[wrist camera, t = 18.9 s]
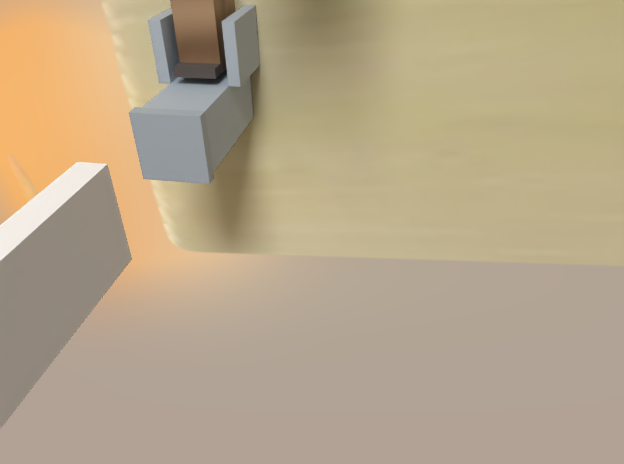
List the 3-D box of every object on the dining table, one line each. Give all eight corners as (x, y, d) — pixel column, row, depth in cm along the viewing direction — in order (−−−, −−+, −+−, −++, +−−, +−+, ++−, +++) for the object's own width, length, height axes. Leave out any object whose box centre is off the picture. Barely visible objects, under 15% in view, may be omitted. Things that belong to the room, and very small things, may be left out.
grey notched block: (177, 4, 47) (102, 43, 36) (255, 5, 45) (201, 46, 35) (194, 115, 52) (133, 178, 42) (263, 119, 51) (219, 184, 41)
